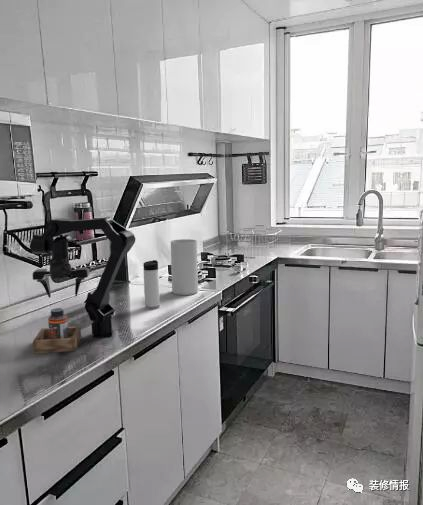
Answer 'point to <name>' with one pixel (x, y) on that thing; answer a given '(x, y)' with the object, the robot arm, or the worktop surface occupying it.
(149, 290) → the travel mug
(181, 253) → the cylinder vase
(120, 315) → the worktop surface
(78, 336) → the box
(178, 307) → the worktop surface
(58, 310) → the supplement bottle
